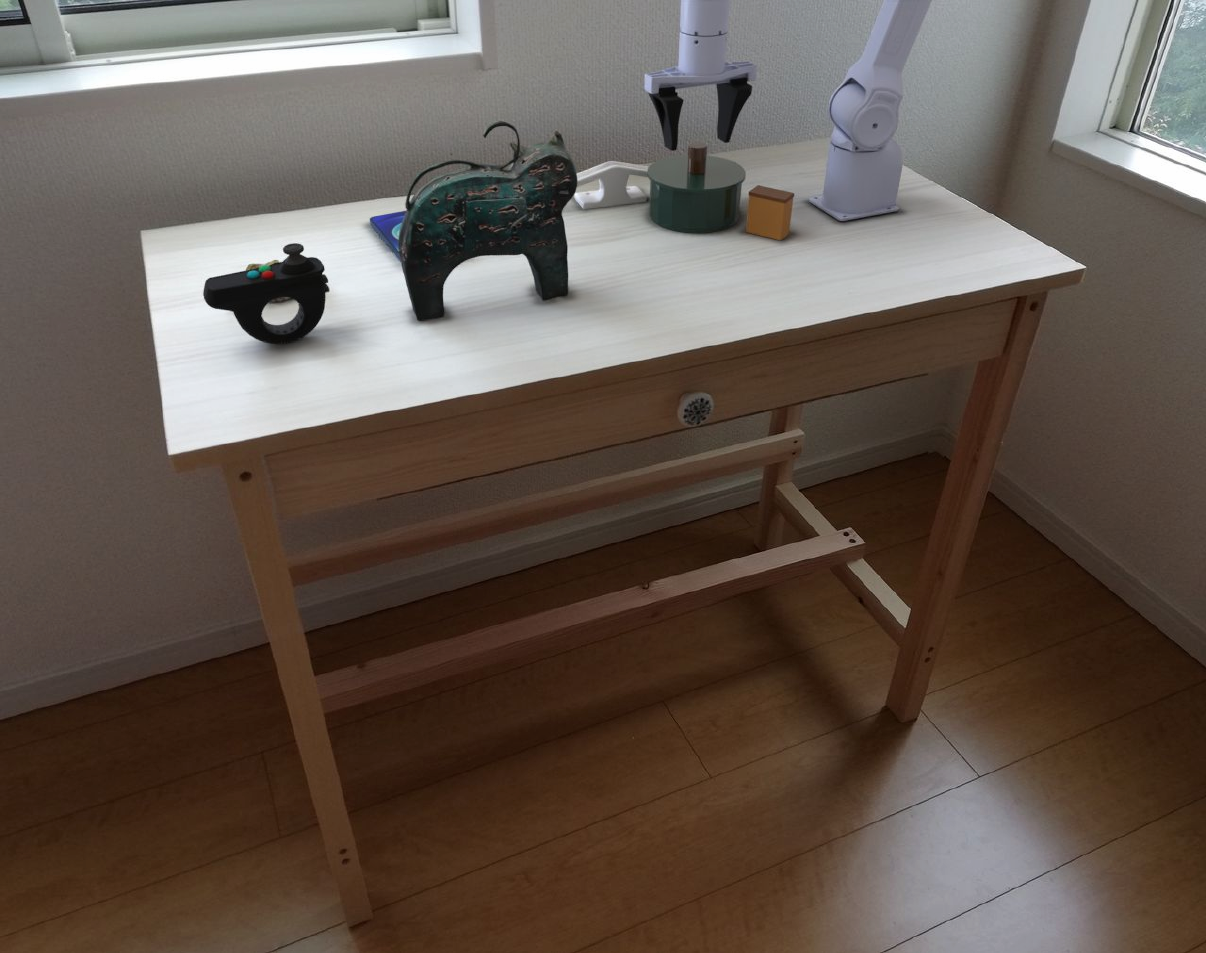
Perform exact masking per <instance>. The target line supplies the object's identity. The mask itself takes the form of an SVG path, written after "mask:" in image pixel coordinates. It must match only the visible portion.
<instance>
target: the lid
mask: <svg viewBox="0 0 1206 953" xmlns="http://www.w3.org/2000/svg"><path fill="white" fill-rule="evenodd" d="M687 146H688V147H687V148H688V149H687V154H680V155H673V156H668V157H664V158H660V159H658V160H656V161H654V162H652V163H651V164H650V165H649V166H647V167H648V170H647V176H648V177H647V178H648V179H649V181H650V180H651V181H652V182H653V183H654V184H656V185H658V186H660V187H663V188H666V189H669V190H674V191H679V192H687V193H713V192H720V191H725V190H729V189H732V188H735V187H737V186H739V185H740V184H742V185H743V183H744V182H745V181H746V175H747V174H746V170H745V168H744V167H743V166H742V165H740V164H739V163H737V162H736V161H733V160H731V159H728V158H724V157H719V156H714V155H709V154H708V144H707V143H704V142H691V143H688V145H687Z"/></svg>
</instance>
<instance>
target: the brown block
mask: <svg viewBox="0 0 1206 953" xmlns="http://www.w3.org/2000/svg"><path fill="white" fill-rule="evenodd" d="M794 197H795V193H794V192H791V191H787V190H783V189H777V188H773V187H770V186H769V187H768V186H764V185H759V184H757V185H756V186H754V187H753V188H751V189H750V190H749V191H748V200H747V201H748V203H747V214H746V225H745V233H747V234H752V235H756V236H760V237H764V238H769V239H773V240H776V241H782V240H783V239H785V238H786V237H787V236H789V235H790V230H791V221H792V212H793V204H794Z"/></svg>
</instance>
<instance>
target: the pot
mask: <svg viewBox="0 0 1206 953" xmlns="http://www.w3.org/2000/svg"><path fill="white" fill-rule="evenodd" d="M649 182H650V184H649V217H650V219H651V221H653V222H654V223H655V224H656V225H658V226H660V227H662V228H665V229H667V230H670V231H675V232H681V233H687V234H688V233H690V234H705V233H707V234H708V233H713V232H719V231H723V230H725V229H729V228H731V227H732V226H733V225H735V224H736V223H737V222H738V219H739V215H740V211H741V210H740V209H741V198H742V187H743V186H742V185H743V183H742V184H740V185H739V186H737V187H735V188H732V189H729V190H725V191H720V192H713V193H687V192H679V191H674V190H669V189H666V188H663V187H660V186H658V185H656V184H654V183H653V182H652V181H651V180H650V179H649Z"/></svg>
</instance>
